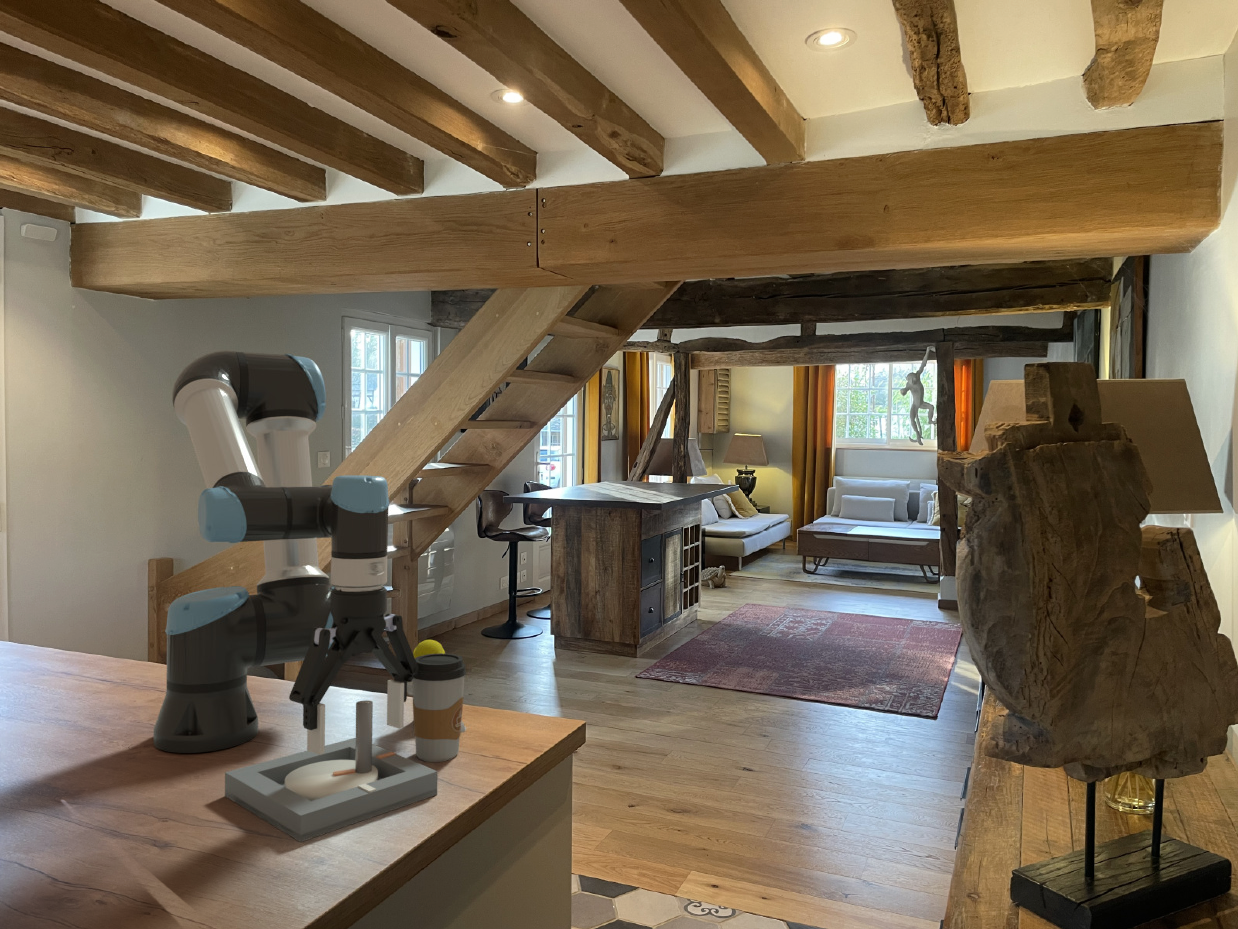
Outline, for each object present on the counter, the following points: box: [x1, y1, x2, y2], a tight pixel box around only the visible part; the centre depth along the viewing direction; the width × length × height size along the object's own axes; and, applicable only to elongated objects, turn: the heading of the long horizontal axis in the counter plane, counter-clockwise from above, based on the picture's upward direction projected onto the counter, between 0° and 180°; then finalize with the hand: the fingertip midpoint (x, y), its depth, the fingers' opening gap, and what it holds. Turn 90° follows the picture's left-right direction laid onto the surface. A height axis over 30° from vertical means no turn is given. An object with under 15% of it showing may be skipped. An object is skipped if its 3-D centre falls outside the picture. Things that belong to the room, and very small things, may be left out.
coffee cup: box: [412, 653, 467, 763], centre depth 135 cm, size 8×8×15 cm
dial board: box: [224, 737, 438, 843], centre depth 119 cm, size 20×20×3 cm
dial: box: [285, 699, 378, 801], centre depth 119 cm, size 12×12×11 cm
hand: (357, 738), depth 123 cm, fingers open, 13 cm apart
